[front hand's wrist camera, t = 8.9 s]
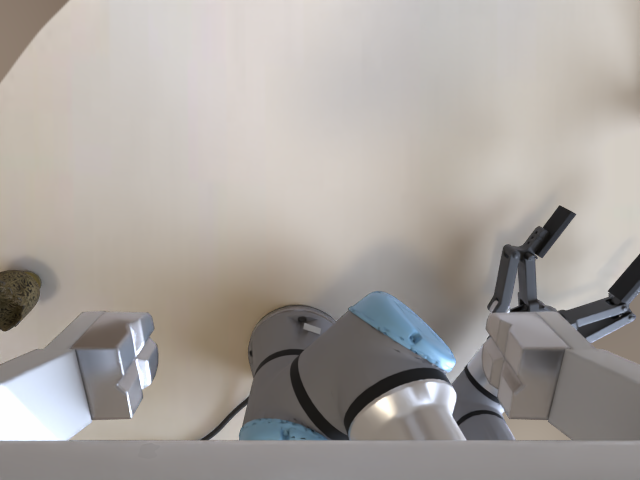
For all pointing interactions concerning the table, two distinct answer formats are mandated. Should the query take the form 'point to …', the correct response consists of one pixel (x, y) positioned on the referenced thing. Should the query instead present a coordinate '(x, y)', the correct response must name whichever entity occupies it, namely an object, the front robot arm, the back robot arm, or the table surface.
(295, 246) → the table surface
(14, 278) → the olive tapered piece
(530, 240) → the back robot arm
